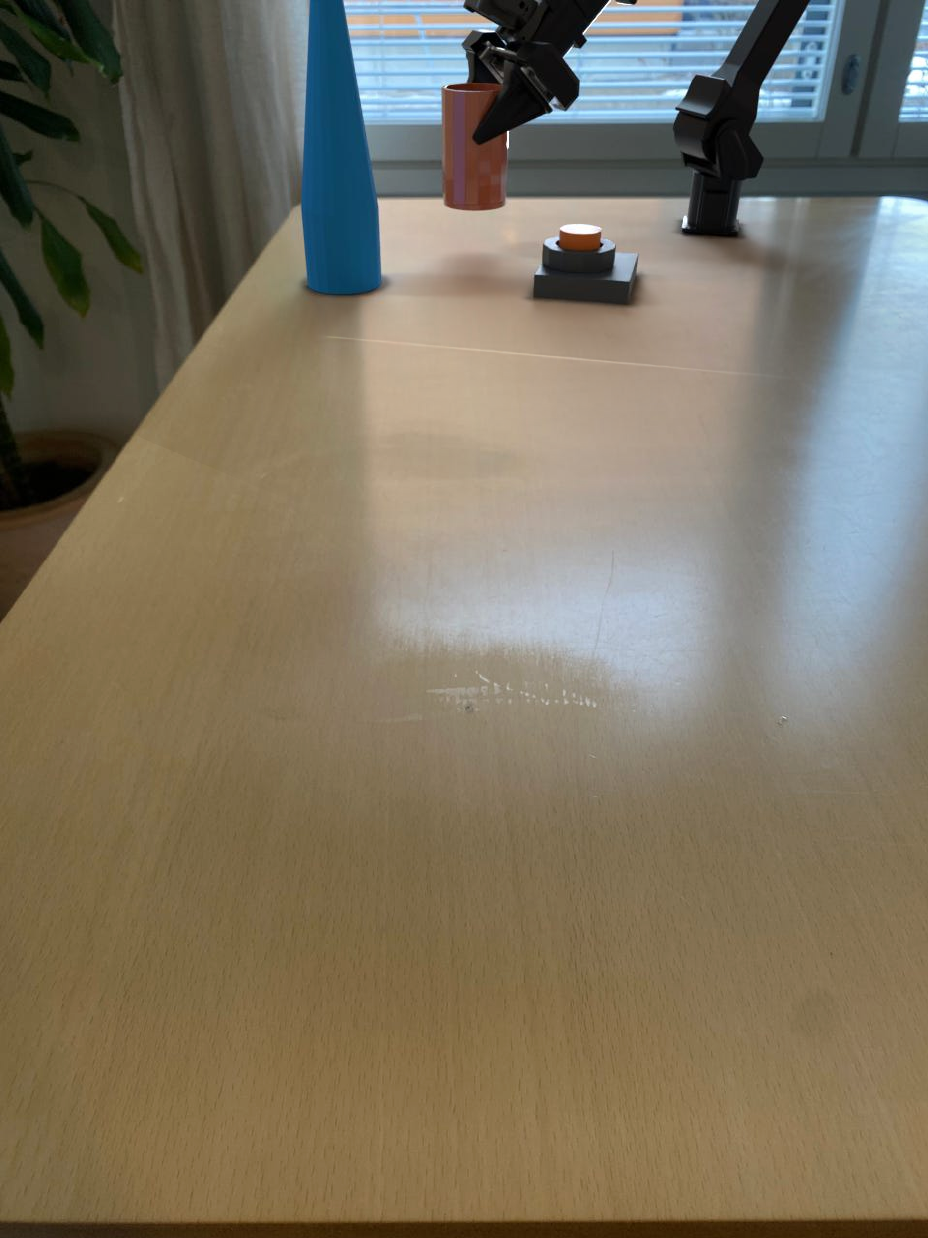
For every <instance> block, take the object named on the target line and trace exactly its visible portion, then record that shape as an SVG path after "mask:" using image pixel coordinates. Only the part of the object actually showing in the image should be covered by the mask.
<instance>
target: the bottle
mask: <svg viewBox="0 0 928 1238" xmlns="http://www.w3.org/2000/svg"><path fill="white" fill-rule="evenodd" d="M308 10H309V11H308V32H307V33H308V35H307V55H306V57H307V58H306V77H305V78H306V82H305V102H304V103H305V104H304V105H305V107H304V127H303V128H304V130H303V152H302V153H303V154H302V172H301V173H302V176H301V196H300V197H301V200H300V201H301V202H300V212H301V223H302V224H301V225H302V235H303V244H304V245H303V247H304V259H305V267H306V268H305V269H306V280H307V282H306V283H307V287H308V288H309V289H310V290H312V291H315V292H318V293H323V294H327V295H357V294H363V293H367V292H371V291H375V290H376V289H377V288H379V287H380V286H381V285H382V283H383V282H382V281H383V279H382V262H381V261H382V257H381V238H380V237H381V236H380V234H381V233H380V211H379V210H380V209H379V202H378V197H377V191H376V184H375V178H374V174H373V172H374V171H373V166H372V159H371V155H370V150H369V149H370V147H369V143H368V138H367V131H366V125H365V120H364V114H363V108H362V103H361V102H362V101H361V96H360V90H359V84H358V79H357V73H356V66H355V61H354V55H353V49H352V44H351V37H350V31H349V25H348V20H347V15H346V14H347V13H346V8H345V2H344V0H309V8H308Z"/></svg>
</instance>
